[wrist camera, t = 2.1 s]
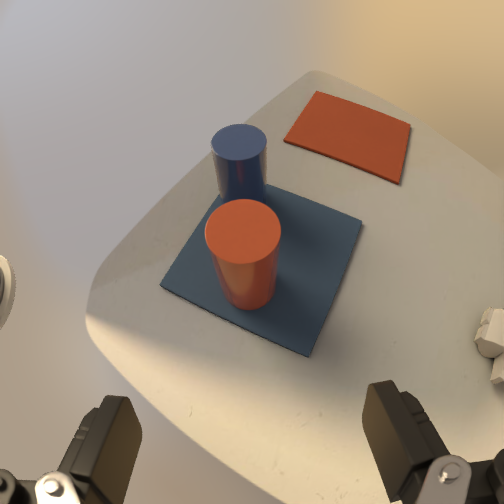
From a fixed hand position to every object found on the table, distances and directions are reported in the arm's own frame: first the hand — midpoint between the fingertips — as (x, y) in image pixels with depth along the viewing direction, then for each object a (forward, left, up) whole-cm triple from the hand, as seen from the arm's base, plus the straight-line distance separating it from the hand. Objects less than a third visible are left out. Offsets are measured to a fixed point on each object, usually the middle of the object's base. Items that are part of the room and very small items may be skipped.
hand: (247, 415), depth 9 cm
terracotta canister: (-6, +10, -18) cm, 21 cm away
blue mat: (-6, +14, -18) cm, 24 cm away
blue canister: (-11, +19, -18) cm, 28 cm away
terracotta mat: (-3, +37, -18) cm, 41 cm away
